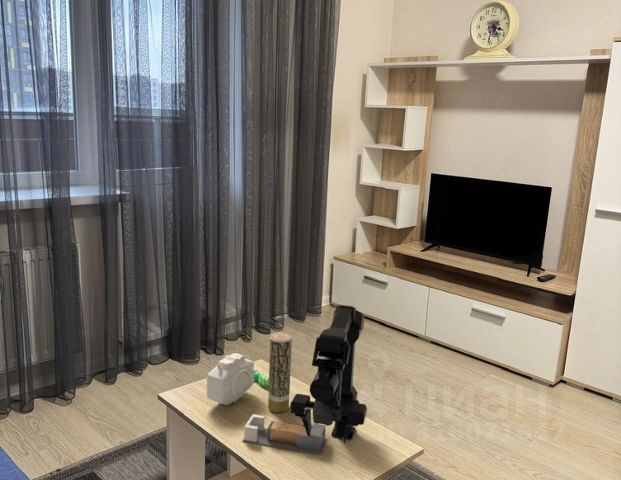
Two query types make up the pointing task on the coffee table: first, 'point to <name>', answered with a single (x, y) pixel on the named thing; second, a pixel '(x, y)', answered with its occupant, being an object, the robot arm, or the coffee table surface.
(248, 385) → the camera
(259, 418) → the socket
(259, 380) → the candy
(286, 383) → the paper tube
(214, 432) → the coffee table surface
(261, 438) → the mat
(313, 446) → the sleeve
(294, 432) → the tan wooden block
